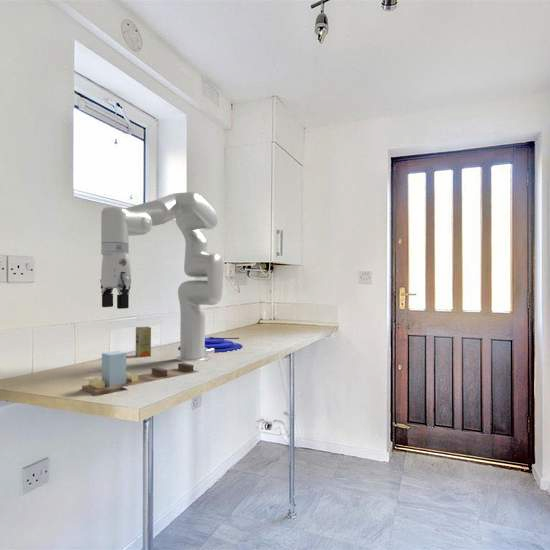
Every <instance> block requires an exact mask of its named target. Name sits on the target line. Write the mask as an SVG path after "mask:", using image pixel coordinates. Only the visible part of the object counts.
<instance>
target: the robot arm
mask: <svg viewBox="0 0 550 550" xmlns="http://www.w3.org/2000/svg"><path fill="white" fill-rule="evenodd" d="M217 214H218V213H217V212H216V210H215V208H214V207H213V206H211V205H210V203H209V202H208V201H207V200H206V199H205V198H204V197H203V196H202V195H200V194H199V193H197V192H194V191H187V192H175V193H171V194H167V195H166V196H163V197H160V198H157V199H154V200H152V201H151V200H150V201H147V202H143V203H140V204H137V205H133V206H128V207H126V208H123V207H119V206H118V207H117V206H108V207H104V208H103V209H102V210H101V217H100V222H101V223H100V226H101V227H100V229H101V230H100V231H101V232H100V233H101V234H100V235H101V236H100V238H101V239H100V243H101V244H100V245H101V247H100V250H101V251H100V254H101V256H102V261H101V274H100V275H101V276H100V277H101V278H100V281H99V282H100V289H101V291H100V293H101V307H102V308H113V307H114V293H112V292H113V290H114V289H116V290H117V293H118V294H116V309H118V310H121V309H129V307H130V306H129V302H130V300H129V299H130V298H129V297H130V296H129V295H130V289H131V285H132V271H131V269H132V268H131V261H130V256H129V255H130V254H129V253H130V252H129V246H130V245H129V241H130V240H129V237H130V236H144V235H146V234H147V233H149V232H150V231H151V230H152V228H153V227H155V226H160V225H165V224H166V223H169V222H170V221H173V220H174V219H175V224H176V226H177V227H178V229H179V231H180V232H181V233H182V235H183V237H184V241H185V248H184V249H185V252H184V263H183V266H184V267H183V268H184V269H183V270H184V274H185V275H186V276H187V277H190V278H207V280H197V279H196V280H195V279H194V280H186V281H183V282H181V283H180V284H179V286H178V289H177V297H178V301H179V310H180V311H179V312H180V324H179V325H180V333H179V334H180V338H179V339H180V340H179V342H180V343H179V344H180V346H179V347H180V350H179V351H180V353H179V354H180V355H179V356H177V357H176V358H175V359H176V360H177V361H182V362H197V361H198V362H199V361H205V362H208V361H209V356H208V355H209V354H214V348H211V349H207V348H205V338H206V332H205V331H206V315H205V312H204V310H203V307H202V306H201V305H203V306H204V305H205V306H213V305H217V304H219V303H220V302H221V299H222V296H223V295H222V294H223V284H224V272H225V271H224V270H225V269H224V261H223V258H222V256H221V255H219V254H218V253H210V252H209V253H208V249H207V248H208V247H207V246H208V242H207V239H206V237H205V235H204V234H203V233H202V232H201V231H203V230H204V231H205V230H213V229H214V228H215V227H216V226H217V225H218V220H219V219H218V215H217Z"/></svg>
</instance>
